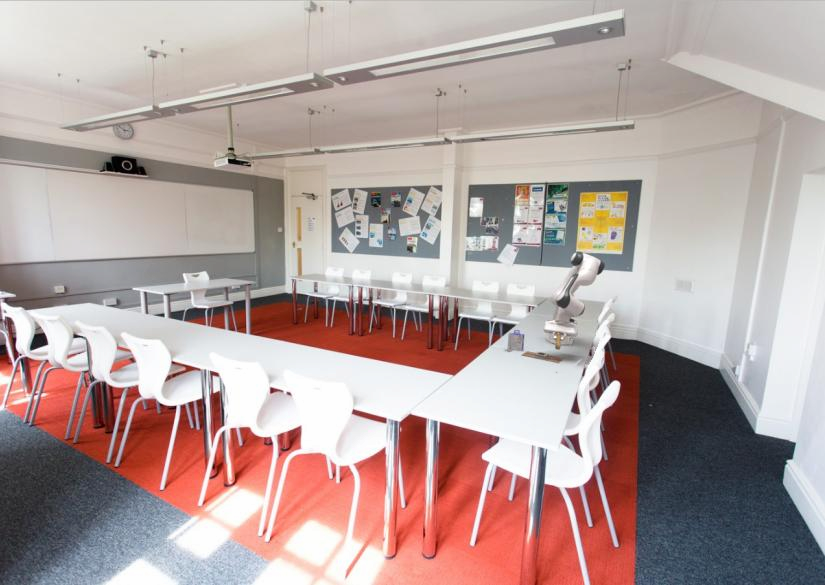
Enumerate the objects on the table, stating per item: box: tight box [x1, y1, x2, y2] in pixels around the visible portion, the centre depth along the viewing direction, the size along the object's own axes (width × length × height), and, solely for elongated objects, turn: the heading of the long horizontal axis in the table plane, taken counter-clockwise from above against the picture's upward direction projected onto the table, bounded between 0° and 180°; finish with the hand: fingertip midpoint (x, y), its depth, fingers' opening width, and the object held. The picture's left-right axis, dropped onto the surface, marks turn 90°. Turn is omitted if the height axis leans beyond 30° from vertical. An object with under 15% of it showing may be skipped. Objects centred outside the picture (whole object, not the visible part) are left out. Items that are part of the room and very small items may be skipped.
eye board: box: [520, 350, 565, 364], centre depth 257 cm, size 12×24×4 cm, turn 54°
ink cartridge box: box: [506, 329, 525, 352], centre depth 271 cm, size 10×6×14 cm, turn 63°
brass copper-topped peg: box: [554, 333, 562, 350], centre depth 249 cm, size 3×3×10 cm
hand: (558, 339), depth 249 cm, fingers closed on brass copper-topped peg, 3 cm apart
